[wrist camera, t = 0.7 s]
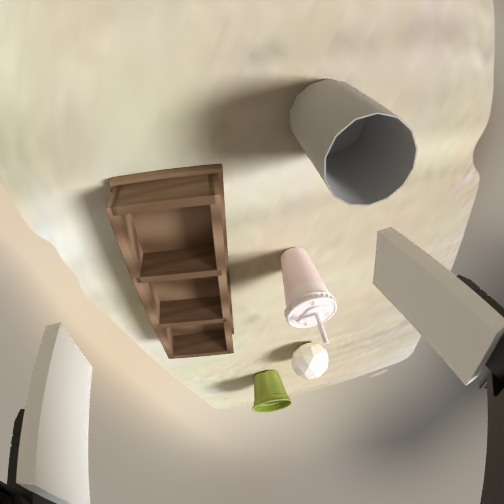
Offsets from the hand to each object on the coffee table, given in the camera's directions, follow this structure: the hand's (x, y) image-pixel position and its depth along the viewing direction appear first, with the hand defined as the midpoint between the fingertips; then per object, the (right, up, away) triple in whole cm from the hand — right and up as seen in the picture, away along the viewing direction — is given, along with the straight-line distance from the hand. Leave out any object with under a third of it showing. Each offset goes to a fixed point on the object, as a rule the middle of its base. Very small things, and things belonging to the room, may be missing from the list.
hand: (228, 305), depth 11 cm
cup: (+9, +16, +17) cm, 25 cm away
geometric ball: (+12, -18, +51) cm, 56 cm away
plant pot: (+4, -28, +60) cm, 66 cm away
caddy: (-8, -1, +30) cm, 31 cm away
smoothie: (+7, +2, +31) cm, 32 cm away
